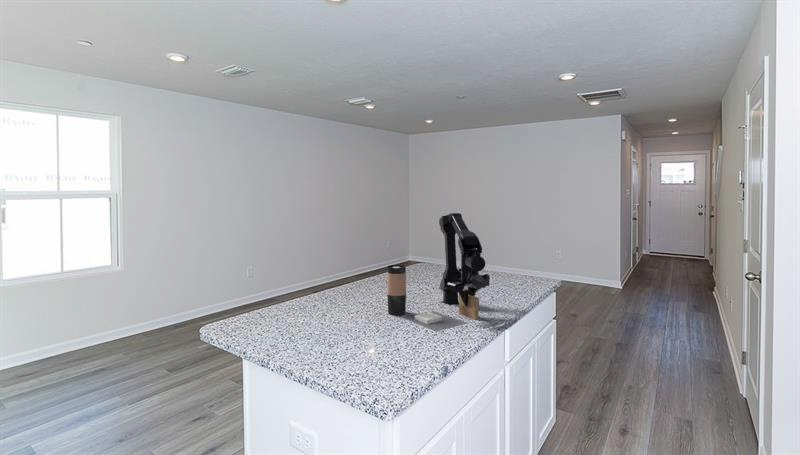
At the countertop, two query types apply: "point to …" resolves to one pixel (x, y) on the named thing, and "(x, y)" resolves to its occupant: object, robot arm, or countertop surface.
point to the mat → (440, 325)
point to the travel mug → (396, 289)
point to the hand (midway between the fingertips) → (468, 305)
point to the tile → (428, 318)
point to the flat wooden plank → (469, 307)
